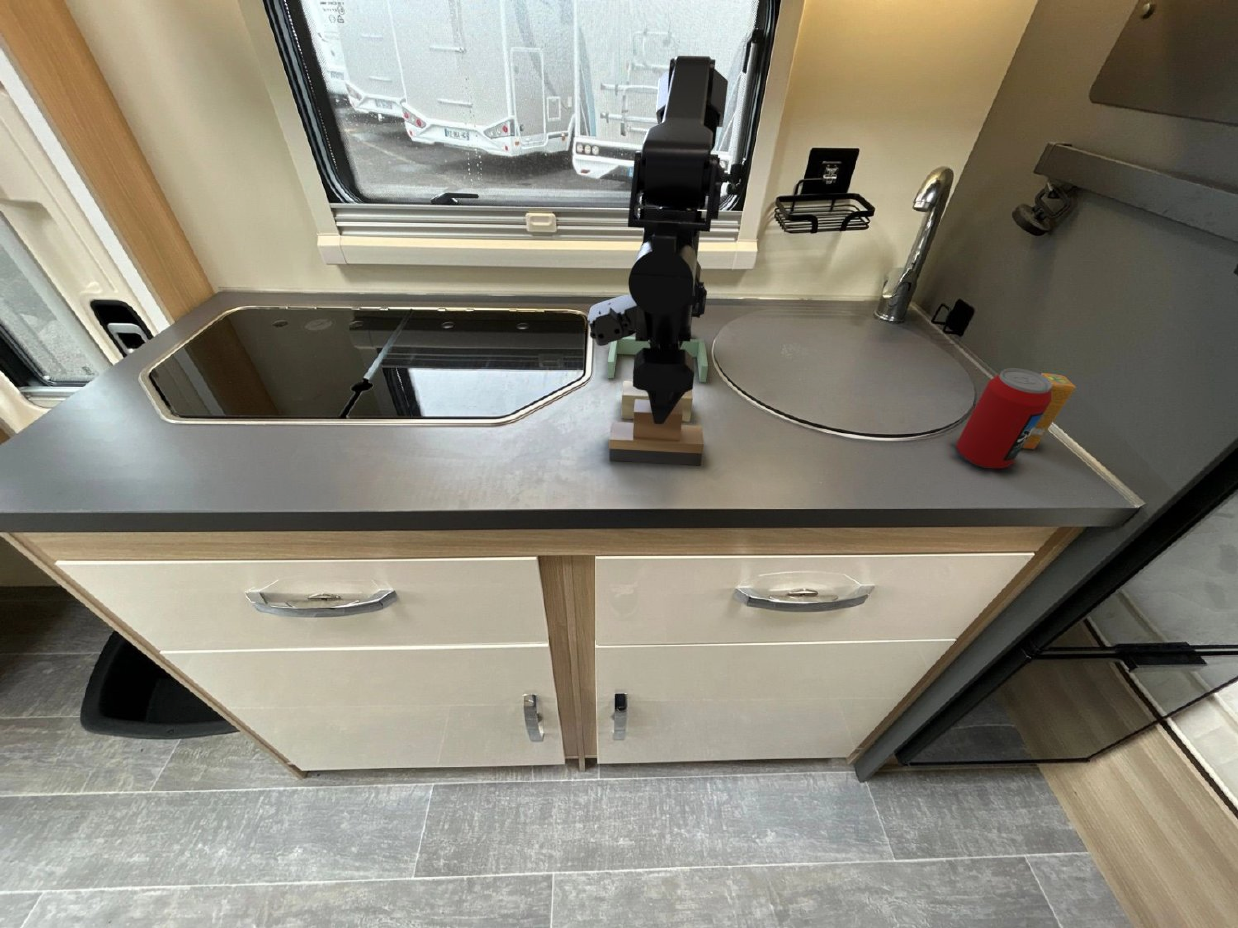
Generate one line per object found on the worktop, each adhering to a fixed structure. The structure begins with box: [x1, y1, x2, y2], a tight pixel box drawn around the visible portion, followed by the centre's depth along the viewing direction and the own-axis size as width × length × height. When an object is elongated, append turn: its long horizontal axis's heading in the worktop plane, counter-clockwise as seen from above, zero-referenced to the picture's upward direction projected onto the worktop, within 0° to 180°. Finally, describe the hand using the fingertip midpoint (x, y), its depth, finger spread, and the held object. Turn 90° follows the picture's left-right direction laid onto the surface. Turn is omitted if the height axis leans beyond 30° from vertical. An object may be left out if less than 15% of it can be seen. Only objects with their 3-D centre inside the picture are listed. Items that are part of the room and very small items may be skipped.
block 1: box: [621, 380, 649, 420], centre depth 77 cm, size 4×4×4 cm
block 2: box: [679, 389, 694, 423], centre depth 77 cm, size 4×4×4 cm
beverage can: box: [956, 367, 1052, 469], centre depth 67 cm, size 7×7×12 cm
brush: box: [608, 399, 705, 466], centre depth 68 cm, size 4×12×8 cm, turn 86°
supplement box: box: [1022, 372, 1077, 450], centre depth 70 cm, size 3×4×10 cm
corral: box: [607, 336, 709, 383], centre depth 88 cm, size 10×16×3 cm, turn 86°
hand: (658, 402), depth 65 cm, fingers open, 9 cm apart
